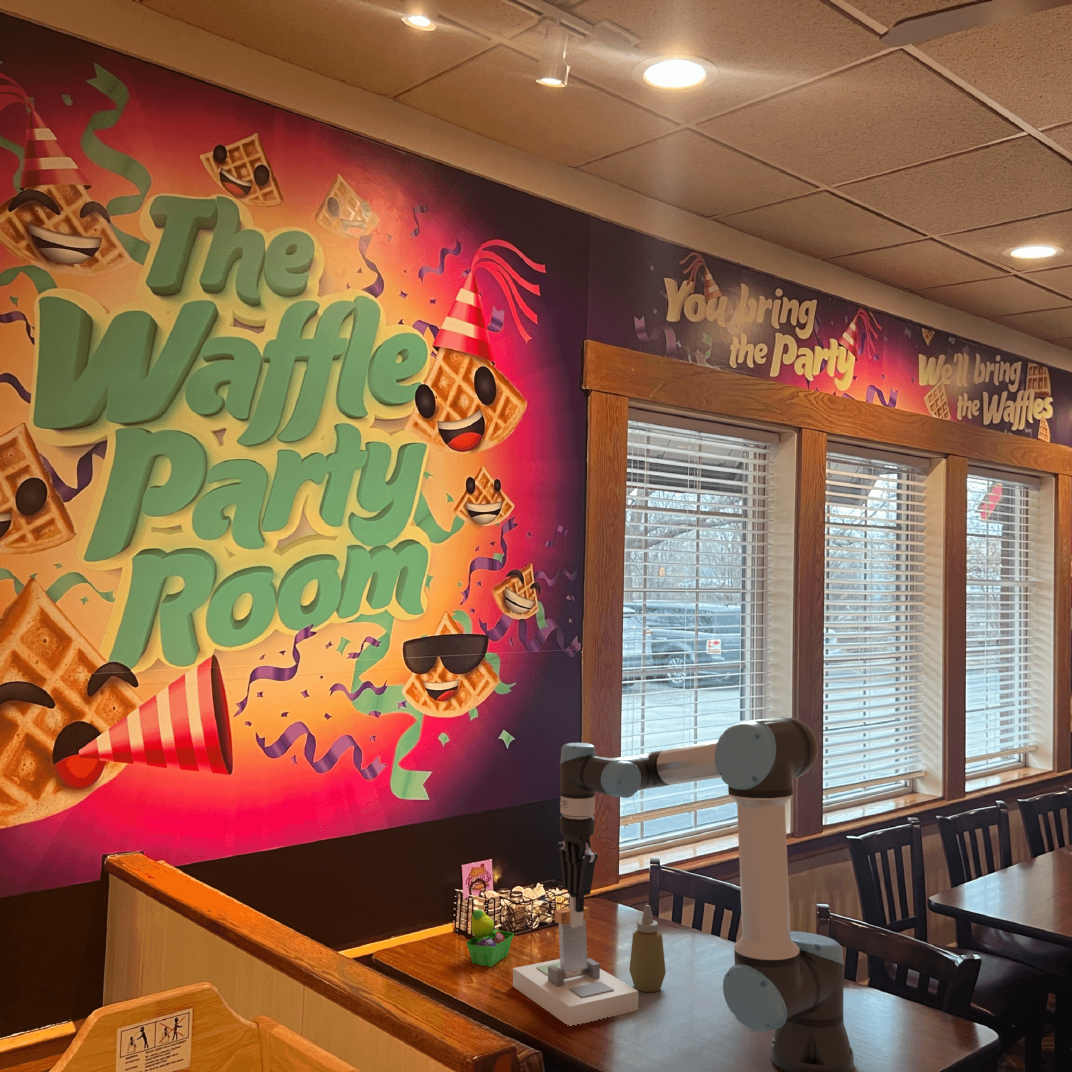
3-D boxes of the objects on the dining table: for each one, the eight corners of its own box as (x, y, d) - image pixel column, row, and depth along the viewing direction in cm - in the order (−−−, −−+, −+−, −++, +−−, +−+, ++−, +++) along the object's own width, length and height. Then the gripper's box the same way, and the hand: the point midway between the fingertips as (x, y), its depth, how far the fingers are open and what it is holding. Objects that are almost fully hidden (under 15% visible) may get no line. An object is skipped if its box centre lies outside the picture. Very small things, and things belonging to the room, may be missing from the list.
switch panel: (638, 1010, 215) (638, 976, 215) (569, 1026, 206) (569, 991, 207) (577, 972, 236) (577, 942, 236) (512, 986, 227) (513, 954, 228)
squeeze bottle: (664, 996, 222) (664, 912, 223) (627, 993, 224) (627, 910, 225) (666, 982, 230) (667, 901, 231) (631, 979, 232) (631, 899, 233)
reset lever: (591, 975, 222) (589, 908, 223) (563, 981, 218) (561, 912, 220) (584, 972, 224) (582, 905, 226) (556, 978, 221) (554, 910, 222)
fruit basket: (493, 970, 237) (493, 920, 238) (460, 963, 241) (460, 915, 242) (515, 954, 247) (515, 907, 248) (483, 948, 251) (483, 902, 252)
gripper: (547, 811, 226) (546, 919, 224) (578, 823, 215) (577, 937, 213) (576, 808, 230) (575, 914, 228) (608, 819, 218) (607, 931, 217)
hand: (576, 925), depth 221 cm, fingers closed
